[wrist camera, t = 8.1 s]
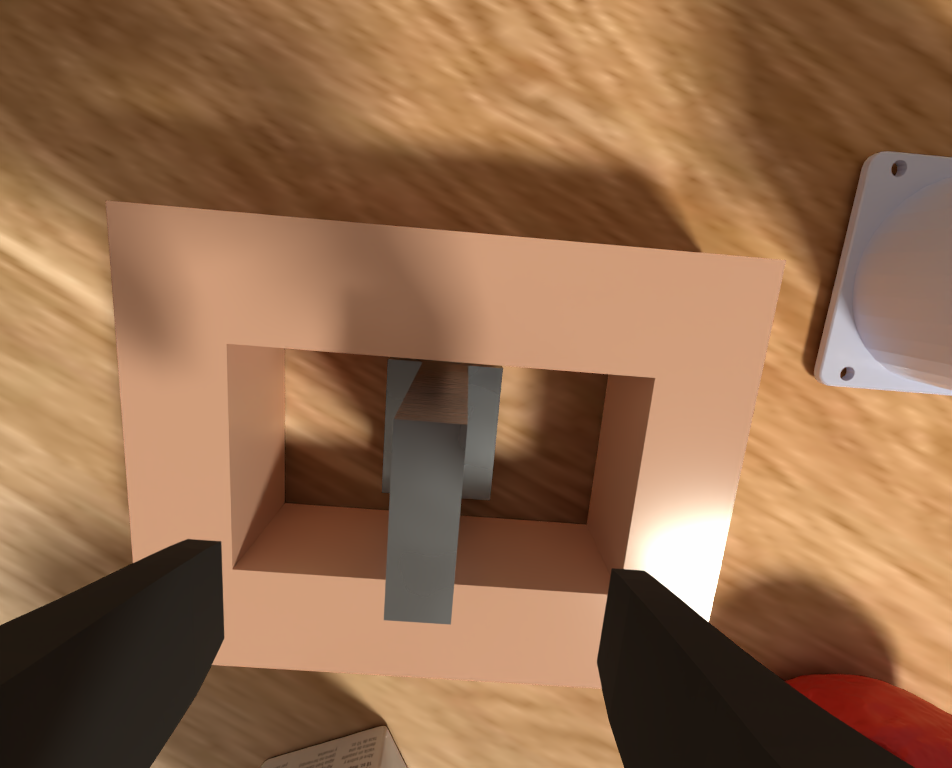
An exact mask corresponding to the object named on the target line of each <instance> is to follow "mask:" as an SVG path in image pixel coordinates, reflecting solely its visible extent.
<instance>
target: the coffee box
mask: <svg viewBox="0 0 952 768" xmlns="http://www.w3.org/2000/svg"><path fill="white" fill-rule="evenodd" d="M261 768H407V767H406V765H405V763H404V761H403V759H402V757H401V755H400V753H399V751H398V749H397V747H396V745H395V743H394V741H393V739H392V737H391V735H390V733H389V731H388V729H387V727H386V726H380V727H376V728H373V729H369V730H366V731H362V732H359V733H356V734H352V735H349V736H346V737H343V738H339V739H335V740H332V741H328V742H325V743H322V744H318V745H315V746H311V747H308V748H305V749H301V750H298V751H295V752H291V753H288V754H284V755H281V756H278V757H274V758H271V759H268V760H266V761H265V762H264V763H263V764H262V766H261Z"/></svg>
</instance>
